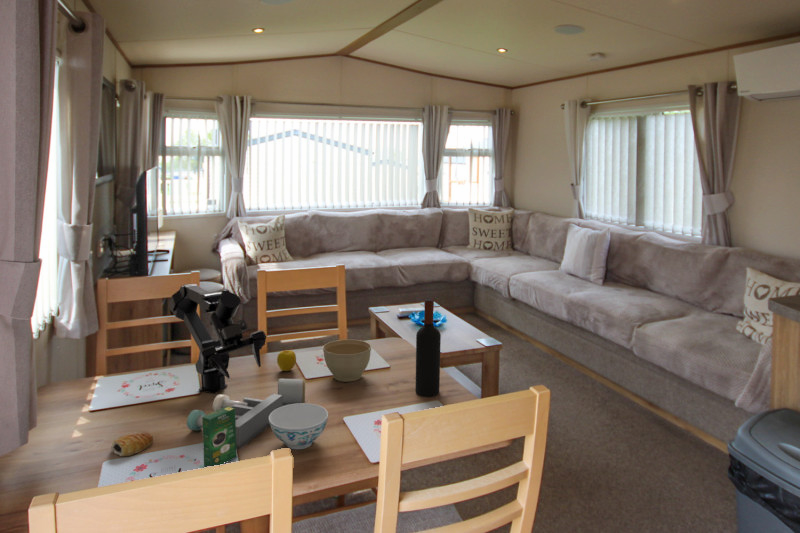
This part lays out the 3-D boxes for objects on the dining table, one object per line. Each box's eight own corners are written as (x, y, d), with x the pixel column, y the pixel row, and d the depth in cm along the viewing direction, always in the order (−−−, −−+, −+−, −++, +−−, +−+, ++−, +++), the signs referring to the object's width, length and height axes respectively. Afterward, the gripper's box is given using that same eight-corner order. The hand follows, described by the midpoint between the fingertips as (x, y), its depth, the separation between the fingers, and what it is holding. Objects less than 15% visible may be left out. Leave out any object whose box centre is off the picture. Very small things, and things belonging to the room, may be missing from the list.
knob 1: (187, 432, 152) (186, 414, 151) (200, 424, 156) (199, 406, 156) (215, 438, 149) (214, 419, 148) (227, 429, 154) (226, 411, 153)
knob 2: (213, 415, 162) (212, 398, 161) (224, 408, 167) (223, 391, 166) (240, 420, 159) (239, 403, 158) (250, 412, 164) (250, 395, 163)
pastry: (144, 437, 150) (143, 424, 149) (159, 445, 146) (158, 431, 145) (109, 452, 142) (108, 438, 141) (124, 460, 138) (123, 446, 138)
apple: (274, 373, 195) (274, 351, 193) (281, 366, 201) (281, 345, 199) (292, 374, 194) (292, 352, 192) (299, 368, 200) (298, 346, 198)
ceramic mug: (305, 407, 168) (305, 382, 167) (277, 409, 167) (276, 384, 166) (305, 393, 179) (305, 370, 177) (278, 395, 177) (278, 371, 176)
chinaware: (269, 432, 153) (268, 405, 151) (325, 427, 156) (325, 400, 155) (269, 460, 138) (268, 431, 137) (331, 454, 142) (331, 425, 140)
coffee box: (230, 453, 142) (227, 404, 139) (238, 457, 140) (235, 407, 138) (203, 468, 135) (200, 416, 132) (211, 471, 133) (208, 419, 131)
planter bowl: (376, 370, 198) (376, 340, 196) (363, 388, 183) (363, 356, 181) (333, 366, 202) (332, 337, 200) (316, 383, 186) (315, 352, 184)
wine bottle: (411, 394, 178) (413, 301, 173) (420, 386, 185) (421, 296, 180) (434, 398, 175) (436, 304, 170) (442, 389, 182) (444, 298, 177)
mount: (203, 441, 147) (202, 420, 146) (249, 409, 167) (248, 389, 166) (239, 449, 144) (238, 427, 143) (282, 414, 163) (282, 395, 162)
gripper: (193, 323, 158) (212, 370, 152) (257, 304, 168) (278, 347, 161) (193, 343, 167) (212, 388, 160) (254, 323, 176) (274, 365, 169)
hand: (244, 372), depth 163 cm, fingers open, 9 cm apart
